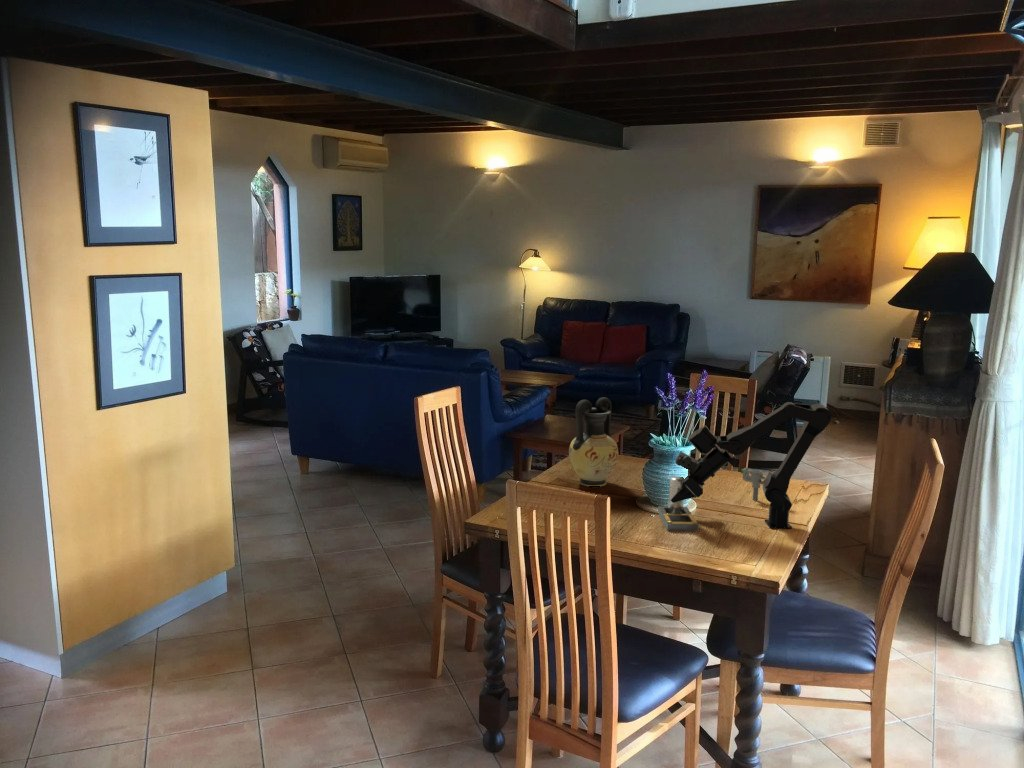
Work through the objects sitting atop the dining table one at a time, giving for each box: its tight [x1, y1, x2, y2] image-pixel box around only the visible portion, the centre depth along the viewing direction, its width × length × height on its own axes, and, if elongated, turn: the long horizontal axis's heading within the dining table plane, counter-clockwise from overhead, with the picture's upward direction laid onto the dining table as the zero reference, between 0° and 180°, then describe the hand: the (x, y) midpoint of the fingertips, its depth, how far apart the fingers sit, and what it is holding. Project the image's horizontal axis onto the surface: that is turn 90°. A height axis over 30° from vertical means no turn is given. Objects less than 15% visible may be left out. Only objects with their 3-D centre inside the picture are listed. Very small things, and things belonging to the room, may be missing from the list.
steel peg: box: [667, 475, 684, 514], centre depth 257 cm, size 4×4×12 cm
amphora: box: [568, 396, 619, 487], centre depth 289 cm, size 18×17×30 cm
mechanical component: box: [740, 467, 768, 501], centre depth 275 cm, size 3×10×10 cm, turn 53°
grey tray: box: [657, 505, 699, 532], centre depth 254 cm, size 16×9×2 cm, turn 0°
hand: (671, 496), depth 257 cm, fingers open, 9 cm apart
